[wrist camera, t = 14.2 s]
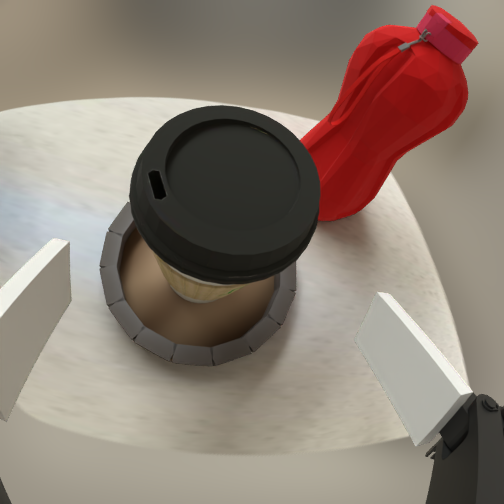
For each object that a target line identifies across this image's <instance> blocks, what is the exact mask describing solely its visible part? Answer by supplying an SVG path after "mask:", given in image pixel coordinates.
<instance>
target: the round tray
mask: <svg viewBox="0 0 504 504" xmlns="http://www.w3.org/2000/svg"><path fill="white" fill-rule="evenodd" d="M108 229H109V232H107V233H106V238H105V242H104V246H103V251H102V256H101V260H100V265H99V266H100V267H101V268H100V274H101V279H102V284H103V289H104V293H105V298H106V302H107V305H108V306H109V309H110V311H111V312H112V314H113V315H114V316H115V318H116V319H117V321H118V322H119V323H120V325H121V326H122V327H123V329H124V330H125V331H126V333H127V334H128V335H129V337H130V338H131V339H132V340H133V341H134V342H135V343H137V344H139V345H140V346H142V347H144V348H145V349H147V350H149V351H151V352H153V353H154V354H156V355H158V356H160V357H162V358H163V359H165V360H167V361H170V360H171V361H172V363H180V364H190V365H201V366H216V365H219V364H222V363H225V362H228V361H231V360H234V359H237V358H240V357H243V356H246V355H249V354H252V353H251V352H255V351H256V350H257V349H258V348H259V347H260V346H261V345H262V344H263V343H264V342H266V341H267V340H268V339H269V338H270V337H271V336H272V335H273V334H274V333H275V332H276V331H277V330H278V329H279V328H280V325H283V322H284V320H285V318H286V315H287V313H288V310H289V308H290V306H291V303H292V301H293V298H294V296H295V294H296V293H294V291H296V261H295V262H294V263H293V264H291V265H290V266H289V267H287V268H286V269H285V270H284V271H282V272H280V273H278V274H276V275H274V276H272V277H270V278H268V279H265V280H262V281H257V282H253V283H250V284H248V285H246V286H244V287H242V288H241V289H239V290H237V291H235V292H233V293H231V294H229V295H227V296H225V297H223V298H220V299H217V300H215V301H213V302H209V303H193V302H190V301H187V300H185V299H183V298H182V297H180V296H179V295H178V294H177V293H175V292H174V290H173V289H172V288H171V286H170V284H169V283H168V281H167V280H166V278H165V277H164V275H163V273H162V271H161V269H160V267H159V265H158V263H157V260H156V258H155V256H154V254H153V252H152V250H151V249H150V248H149V247H148V245H147V244H146V242H145V241H144V239H143V238H142V236H141V235H140V233H139V232H138V230H137V227H136V224H135V222H134V219H133V216H132V214H131V207H130V203H129V202H127V203H126V205H125V206H124V208H123V209H122V210H121V212H120V213H119V214H118V216H117V217H116V218H115V220H114V221H113V223H112V224H111V225H110V227H109V228H108Z"/></svg>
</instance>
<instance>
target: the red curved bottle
mask: <svg viewBox="0 0 504 504" xmlns="http://www.w3.org/2000/svg"><path fill="white" fill-rule="evenodd" d="M477 44H478V41H477V40H476V38H475V36H474V35H473V34H472V33H471V32H470V31H469V30H468V29H467V28H466V27H465V26H464V25H463V24H462V23H461V22H460V21H459V20H457V19H456V18H454V17H453V16H452V15H451V14H449V13H448V12H446V11H445V10H443V9H442V8H440V7H437V6H433V5H432V6H431V7H430V8H429V9H428V11H427V13H426V14H425V16H424V17H423V19H422V20H421V21H420V23H419V24H418V26H417V27H416V28H414V27H405V26H395V25H386V26H382V27H379V28H377V29H375V30H373V31H372V32H370V33H368V34H366V35H365V37H364V38H363V40H362V41H361V42H360V44H359V45H358V47H357V48H356V50H355V51H354V53H353V55H352V56H351V58H350V60H349V62H348V66H347V70H346V73H345V76H344V80H343V83H342V87H341V90H340V94H339V97H338V100H337V102H336V104H335V106H334V107H333V109H332V111H331V112H330V113H329V114H328V115H327V116H326V117H325V118H324V119H323V120H321V121H320V122H319V123H318V124H317V125H316V126H315V127H314V128H313V129H311V130H310V131H309V132H308V133H307V134H306V135H305V136H304V137H303V138H302V139H301V140H300V141H301V142H302V143H303V145H304V146H305V148H306V149H307V150H308V152H309V153H310V155H311V157H312V159H313V161H314V163H315V165H316V168H317V171H318V175H319V179H320V193H321V196H320V201H319V216H318V220H319V221H334V220H337V219H341V218H344V217H347V216H350V215H353V214H355V213H357V212H358V211H360V210H362V209H363V208H364V207H365V206H366V205H367V204H368V203H370V202H371V201H372V200H373V199H374V198H375V196H376V195H377V193H378V192H379V190H380V188H381V187H382V185H383V183H384V182H385V180H386V178H387V177H388V175H389V173H390V172H391V170H392V168H393V167H394V165H395V163H396V162H397V160H398V159H400V158H401V157H402V156H403V155H404V154H405V153H406V152H408V151H410V150H411V149H413V148H415V147H417V146H418V145H420V144H421V143H423V142H425V141H427V140H429V139H430V138H432V137H434V136H435V135H437V134H439V133H441V132H442V131H444V130H446V129H447V128H449V127H451V126H452V125H453V124H454V123H455V121H456V120H457V119H458V117H459V116H460V115H461V113H462V112H463V110H464V109H465V106H466V103H467V100H468V87H467V81H466V78H465V75H464V72H463V69H462V67H461V63H462V62H463V61H464V60H465V59H466V57H468V55H469V54H470V53H471V52H472V50H473V49H474V48H475V47H476V46H477Z"/></svg>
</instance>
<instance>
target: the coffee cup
mask: <svg viewBox="0 0 504 504" xmlns="http://www.w3.org/2000/svg"><path fill="white" fill-rule="evenodd" d="M320 196H321V193H320V179H319V175H318V171H317V168H316V165H315V163H314V161H313V159H312V157H311V155H310V153H309V152H308V150H307V149H306V148H305V146H304V145H303V143H302V142H301V141H300V140H299V139H298V138H297V137H296V136H295V135H294V134H293V133H292V132H291V131H289V130H288V129H287V128H286V127H284V126H283V125H282V124H280V123H278V122H277V121H275V120H273V119H271V118H270V117H268V116H266V115H263V114H261V113H258V112H255V111H253V110H249V109H245V108H240V107H234V106H224V105H220V106H206V107H201V108H196V109H192V110H189V111H187V112H184V113H182V114H179V115H177V116H176V117H174V118H172V119H171V120H169V121H168V122H166V123H165V124H164V125H163V126H162V127H161V128H160V129H159V130H158V131H157V132H156V133H155V134H154V136H153V137H152V139H151V140H150V142H149V143H148V144H147V145H146V147H145V148H144V150H143V151H142V153H141V154H140V156H139V158H138V160H137V162H136V165H135V168H134V170H133V173H132V178H131V184H130V193H129V199H130V207H131V214H132V216H133V219H134V222H135V224H136V227H137V230H138V232H139V233H140V235H141V236H142V238H143V239H144V241H145V242H146V244H147V245H148V247H149V248H150V249H151V250H152V252H153V254H154V256H155V258H156V260H157V263H158V265H159V267H160V269H161V271H162V273H163V275H164V277H165V278H166V280H167V281H168V283H169V284H170V286H171V288H172V289H173V290H174V292H175V293H177V294H178V295H179V296H180V297H182V298H183V299H185V300H187V301H190V302H193V303H209V302H213V301H215V300H217V299H220V298H223V297H225V296H227V295H229V294H231V293H233V292H235V291H237V290H239V289H241V288H242V287H244V286H246V285H248V284H250V283H253V282H257V281H262V280H265V279H268V278H270V277H272V276H274V275H276V274H278V273H280V272H282V271H284V270H285V269H286V268H287V267H289V266H290V265H291V264H293V263H294V262H295V261H296V260H297V259H298V258H299V257H300V255H301V254H302V253H303V252H304V250H305V249H306V248H307V246H308V244H309V242H310V240H311V238H312V236H313V234H314V232H315V229H316V226H317V221H318V216H319V201H320Z"/></svg>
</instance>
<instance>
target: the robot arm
mask: <svg viewBox="0 0 504 504" xmlns="http://www.w3.org/2000/svg"><path fill="white" fill-rule="evenodd" d="M71 301H72V299H71V283H70V241H66V240H61V239H56V238H53V239H52V240H51V241H49V242H48V243H47V244H46V245H45V246H44V247H43V248H42V249H41V250H40V251H38V252H37V253H36V254H35V255H34V256H33V257H32V258H31V259H30V260H29V261H28V262H27V263H26V264H25V265H24V266H23V267H22V268H21V269H20V270H19V271H18V272H17V273H16V274H15V275H14V276H13V277H12V278H11V279H10V280H9V281H8V282H7V283H6V284H5V285H4V286H3V287H2V288H1V289H0V419H1V420H4V421H6V422H7V420H8V418H9V416H10V413H11V411H12V409H13V407H14V404H15V402H16V400H17V398H18V396H19V394H20V392H21V390H22V388H23V386H24V384H25V382H26V380H27V378H28V376H29V374H30V372H31V370H32V368H33V366H34V364H35V362H36V360H37V359H38V357H39V355H40V353H41V351H42V349H43V348H44V346H45V344H46V342H47V341H48V339H49V337H50V335H51V334H52V332H53V330H54V329H55V327H56V325H57V323H58V322H59V320H60V319H61V317H62V315H63V314H64V312H65V310H66V309H67V307H68V306H69V304H70V302H71ZM354 341H355V342H356V344H357V345H358V347H359V349H360V350H361V352H362V354H363V355H364V357H365V359H366V360H367V362H368V364H369V365H370V367H371V369H372V371H373V372H374V374H375V376H376V377H377V379H378V381H379V382H380V384H381V386H382V388H383V389H384V391H385V393H386V394H387V396H388V398H389V400H390V401H391V403H392V405H393V407H394V408H395V410H396V412H397V414H398V416H399V417H400V419H401V421H402V423H403V424H404V426H405V428H406V430H407V432H408V433H409V435H410V437H411V439H412V440H413V442H414V444H415V446H420V445H423V444H426V443H429V442H430V441H431V440H432V439H433V438H434V437H435V436H436V435H437V434H438V433H440V434H441V436H442V438H441V439H440V440H439V441H438V442H437V443H436V444H435V445H434V446H433V447H432V448H431V449H430V450H429V451H428V452H427V453H426V455H425V456H426V457H428V456H429V455H430V454H431V453H432V452H436V453H435V454H434V455H432V457H431V459H434V465H433V471H432V477H431V481H430V486H429V491H428V496H427V500H426V504H504V406H503V407H501V406H499V405H498V404H497V403H496V402H495V401H494V400H493V399H492V398H491V397H489V396H488V395H484V394H480V395H478V396H476V395H475V394H474V393H473V391H472V390H471V389H470V387H469V386H468V385H467V384H466V382H465V381H464V380H463V379H462V377H461V376H460V375H459V374H458V372H457V371H456V370H455V369H454V367H453V366H452V365H451V364H450V362H449V361H448V360H447V359H446V358H445V356H444V355H443V354H442V353H441V352H440V350H439V349H438V348H437V347H436V346H435V345H434V343H433V342H432V341H431V340H430V339H429V337H428V336H427V335H426V334H425V333H424V332H423V331H422V329H421V328H420V327H419V326H418V325H417V324H416V323H415V321H414V320H413V319H412V318H411V317H410V316H409V315H408V314H407V312H406V311H405V310H404V309H403V308H402V307H401V306H400V305H399V304H398V302H397V301H396V300H395V299H394V298H393V297H392V296H391V295H390V294H389V293H383V292H376V294H375V297H374V299H373V301H372V303H371V305H370V307H369V310H368V312H367V314H366V316H365V318H364V320H363V322H362V324H361V326H360V328H359V330H358V332H357V334H356V336H355V338H354ZM0 504H11V501H10V499H9V497H8V495H7V493H6V490H5V488H4V486H3V484H2V481H1V479H0Z"/></svg>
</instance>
